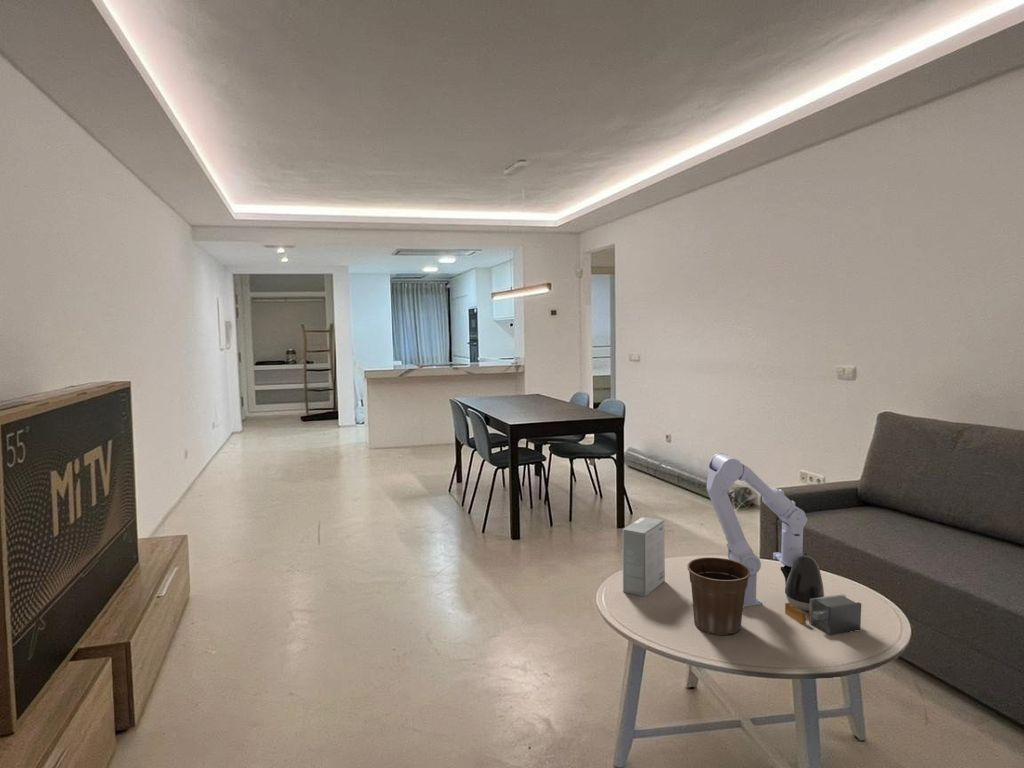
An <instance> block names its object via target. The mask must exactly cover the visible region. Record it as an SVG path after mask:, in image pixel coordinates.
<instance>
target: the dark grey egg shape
mask: <svg viewBox="0 0 1024 768" xmlns="http://www.w3.org/2000/svg"><path fill="white" fill-rule="evenodd" d="M823 583H824V582H823V578H822V573H821V571H820V567H819V565H818V563H817V561H816V560H815V559H814V558H813V557H811V556H809V554H808V552H804V553H803V555H802V556H801V557H799V558H798V559H797V560H796V561H795V562H794V564H793V566H792V568H791V570H790V573H789V575H788V578H787V582H786V585H785V586H784V593H785V595H786V596H785V597H786V600H787V601H788V603H790V604H792V605H793V606H795V607H797V608H798V609H800V610H801V611H803V612H809V606H810V599H811V598H819V597H825V590H824V584H823Z"/></svg>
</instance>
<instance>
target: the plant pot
mask: <svg viewBox="0 0 1024 768" xmlns="http://www.w3.org/2000/svg"><path fill="white" fill-rule="evenodd" d="M686 566H687V570H688V572H689V573H688V575H689V581H690V585H691V595H692V596H691V597H692V609H693V621H694V622H693V623H694V625H695V626H697V628H699V629H700V631H702V632H705V633H708V634H710V635H717V636H727V635H729V634H731V635H735V634H738V633H739V632H740V631H741V628H742V620H743V619H742V618H743V613H744V612H743V611H744V607H743V604H744V597H745V589H746V588H747V583H748V577H749V576H750V569H749V568H748V567H746V566H745V565H743V564H741V563H739V562H736V561H733V560H729V559H728V558H721V557H713V556H711V557H699V558H695V559H692V560H690V561H689V562H688V563H687V565H686Z"/></svg>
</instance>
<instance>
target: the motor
mask: <svg viewBox="0 0 1024 768" xmlns="http://www.w3.org/2000/svg"><path fill="white" fill-rule="evenodd" d="M784 609H785V610H784V614H785V615H786V616H788V617H789V618H790V619H793V620H794V621H796V622H797V623H799V624H800V625H807V624H806V623H807V613H806V611H802V610H800V609H798V608H797V607H795V606H793V605H792V604H790V603H789V602H785V606H784ZM808 613H809V614H808V625H812V626H813V625H815V626H816V627H817V628H819V629H821V630H822V631H824V632H825V633H826V634H828V635H830V636H833V635H838V634H839V635H840V634H845V632H846V633H851V632H850V631H853V632H856V631H855V630H860V631H861V624H862V623H861V622H862V621H861V620H862V603H861V602H859V601H858V602H856V601H853V600H852V599H850V598H848V597H847V595H846V594H844V593H842V594H835V595H827V596H824V597H819V598H811V599H810V606H809V611H808Z"/></svg>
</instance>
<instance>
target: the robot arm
mask: <svg viewBox="0 0 1024 768" xmlns="http://www.w3.org/2000/svg"><path fill="white" fill-rule="evenodd" d="M707 470H708V474H707V481H706V491H707V494H708V496H709V499H710V501H711V504H712V506H713V509H714V512H715V513H716V516H717V519H718V521H719V525H720V526H721V529H722V531H723V535H724V536H725V540H726V542H727V543H726V548H727V559H729V560H733V561H736V562H739V563H741V564H743V565H745V566H746V567H748V568H749V569H750V576H749V577H748V583H747V588H746V589H745V597H744V604H743V608H745V607H752V606H758V605H759V606H760V605H763V604H764V603H763V601H761V600H759V599H758V598H757V579H758V578H757V577H758V576H757V575H758V572H759V571H760V570H761V567H762V564H761V563H762V562H761V560H760V558H759V557H758V556H757V555H756V554H755V553H754V550H753V548H752V547H751V545H750V544H749V542H748V541H747V540H746V537H745V534H744V531H743V530H742V526H741V525H740V522H739V519H738V517H737V514H736V511H735V509H734V507H733V504H732V502H731V499H730V497H729V493H728V490H729V489H730V487H732V485H734V484H735V482H737V481H741V482H743V481H744V482H745V483H746V484H748V486H750V487H751V488H752V489H754V490H755V491H756V492H757V493H758V494H760V495H761V499H762V500H761V501H762V503H763V504H764V505H765V506H766V507H768V508H769V509H770V510H771V511H772V512H773V513H774V514H775V515H776V516H777V517H778V519H779V520H780V521H781V546H780V547H781V549H780V550H781V552H779V551H777V552H773V553H772V560H775V561H779V563H780V564H782V565H783V566H780V571H781V573H782V575H783V576H784V582H785V586H786V582H787V578H788V575H789V573H790V570H791V568H792V566H793V564H794V562H795V561H796V560H797V559H798V558H799V557H801V556H803V550H804V549H803V548H804V547H803V543H804V527H805V525H807V523H808V517H807V515H806V512H805V511H804V510H803V509H801V508H800V507H798V506H796V502H795V501H794V500H790V498H788V497H787V496H786V495H785V494H786V493H785V491H784V490H782V489H780V488H777V487H770V486H769V485H768V484H767V483H765V482H764V480H763V479H761V478H760V477H759V476H758V475H757V474H756V473H755V472H754V471H753V470H752V469H751V468H750V467H748V466H747V465H745V464H744V463H742V462H741V461H740V460H739V459H736V458H733V457H731V456H730V455H728V454H727V453H724V452H719V453H715V454H714V455H713V456H712V458H711V459H710V460H709V462H708V464H707Z"/></svg>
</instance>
